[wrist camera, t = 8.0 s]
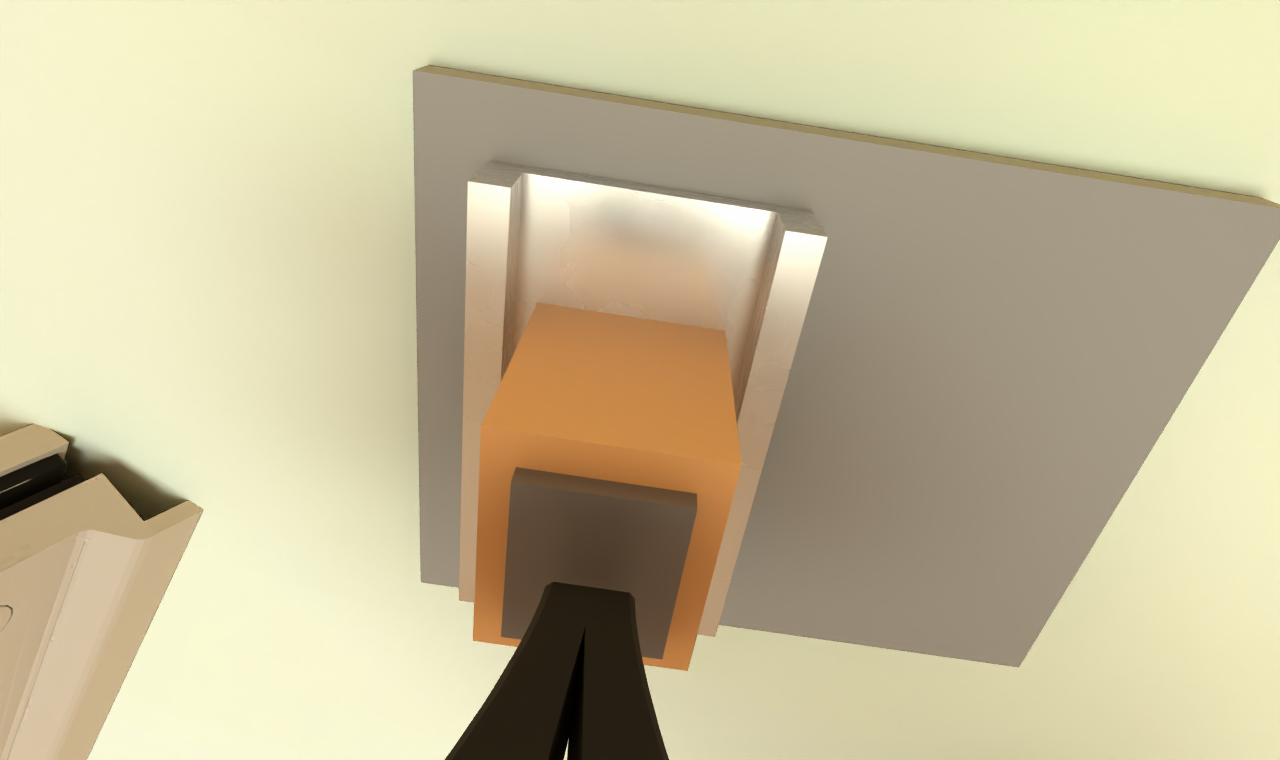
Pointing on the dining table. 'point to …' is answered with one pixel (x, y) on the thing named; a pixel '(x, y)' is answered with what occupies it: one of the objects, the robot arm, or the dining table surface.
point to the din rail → (634, 300)
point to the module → (607, 473)
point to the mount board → (883, 351)
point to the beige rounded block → (71, 595)
